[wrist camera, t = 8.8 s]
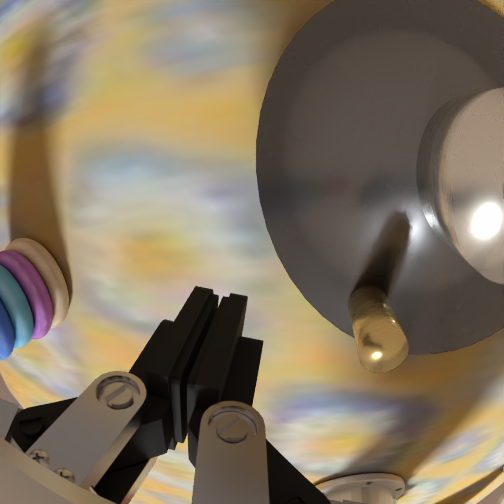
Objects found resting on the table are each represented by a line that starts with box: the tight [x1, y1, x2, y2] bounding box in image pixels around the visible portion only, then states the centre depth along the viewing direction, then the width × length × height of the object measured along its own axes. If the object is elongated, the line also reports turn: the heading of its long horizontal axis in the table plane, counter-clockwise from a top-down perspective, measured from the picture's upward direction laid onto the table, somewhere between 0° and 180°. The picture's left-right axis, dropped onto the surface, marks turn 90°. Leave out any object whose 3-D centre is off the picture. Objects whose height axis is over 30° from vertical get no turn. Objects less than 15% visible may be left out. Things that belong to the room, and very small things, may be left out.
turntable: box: [256, 0, 504, 373], centre depth 10 cm, size 20×20×6 cm
